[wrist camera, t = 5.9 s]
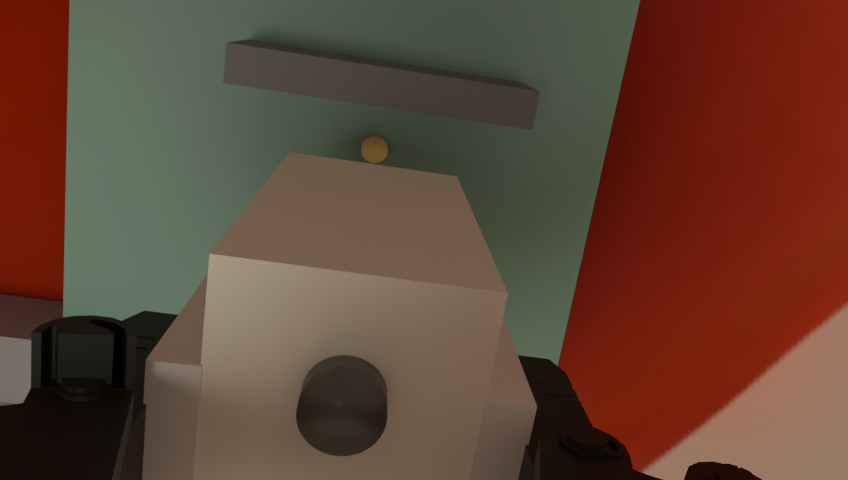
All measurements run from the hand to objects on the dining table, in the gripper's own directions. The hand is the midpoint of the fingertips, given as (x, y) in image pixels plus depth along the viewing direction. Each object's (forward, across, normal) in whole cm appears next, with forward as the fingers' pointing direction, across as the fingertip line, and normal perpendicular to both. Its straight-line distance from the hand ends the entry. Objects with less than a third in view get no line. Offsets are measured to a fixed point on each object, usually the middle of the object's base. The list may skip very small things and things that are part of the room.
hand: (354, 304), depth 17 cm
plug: (+2, 0, 0) cm, 2 cm away
